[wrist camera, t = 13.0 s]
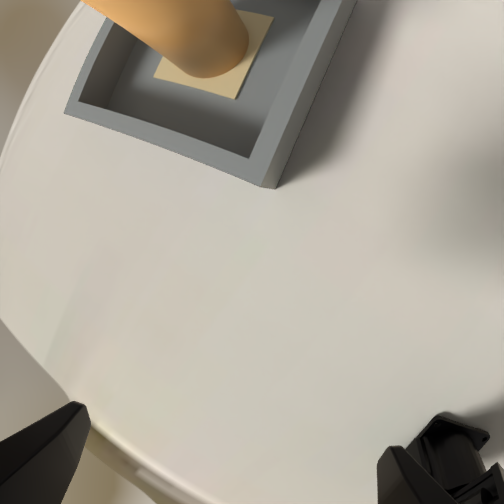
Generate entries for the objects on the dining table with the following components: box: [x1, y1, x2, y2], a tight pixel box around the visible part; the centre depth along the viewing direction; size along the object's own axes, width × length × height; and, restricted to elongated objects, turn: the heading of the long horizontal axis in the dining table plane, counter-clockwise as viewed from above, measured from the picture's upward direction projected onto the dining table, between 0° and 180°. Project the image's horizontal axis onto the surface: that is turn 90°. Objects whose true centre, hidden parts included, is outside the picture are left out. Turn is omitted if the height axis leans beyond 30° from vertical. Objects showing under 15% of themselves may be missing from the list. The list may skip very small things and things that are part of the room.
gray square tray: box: [64, 0, 357, 189], centre depth 16 cm, size 14×14×4 cm
